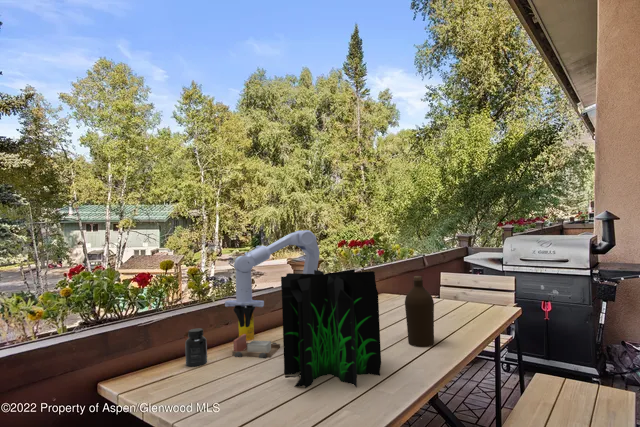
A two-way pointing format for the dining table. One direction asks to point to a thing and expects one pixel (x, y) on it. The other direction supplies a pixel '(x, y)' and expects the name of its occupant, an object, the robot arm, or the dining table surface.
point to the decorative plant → (330, 325)
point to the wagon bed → (245, 353)
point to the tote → (259, 346)
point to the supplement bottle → (196, 348)
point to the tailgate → (240, 343)
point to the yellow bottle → (247, 329)
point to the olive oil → (419, 315)
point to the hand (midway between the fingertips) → (245, 326)
